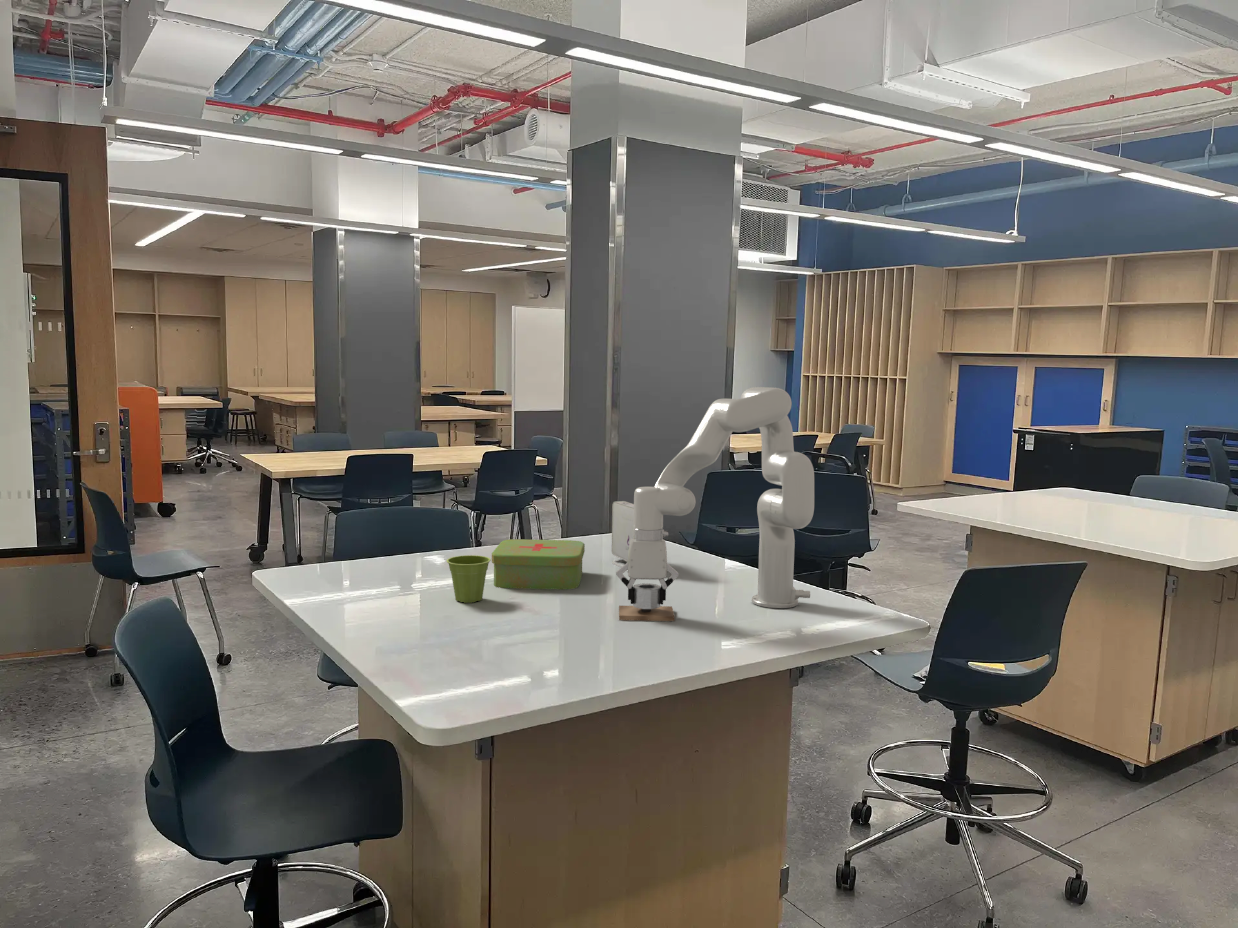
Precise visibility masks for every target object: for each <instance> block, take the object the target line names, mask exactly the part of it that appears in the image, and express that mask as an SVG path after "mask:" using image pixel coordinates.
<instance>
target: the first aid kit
mask: <svg viewBox="0 0 1238 928" xmlns="http://www.w3.org/2000/svg"><path fill="white" fill-rule="evenodd" d="M585 545H586V544H585V543H584V542H583V541H580V540H569V539H565V540H564V539H526V538H525V539H519V538H517V539H515V538H514V539H511V538H510V539H504V540H502V541H500V542H499V544H498V545H497V546H496V548H495V549H494V550H493V551H492V552H491V563H492V564H493V586H494V587H496V588H499V587H500V588H501V589H527V590H528V589H531V590H532V589H533V590H535V589H537V590H574V589H578V587H579V586H580V583H581V579H582V576H583V558H584V555H585V551H586V550H585V549H586V548H585Z"/></svg>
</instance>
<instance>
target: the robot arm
mask: <svg viewBox="0 0 1238 928" xmlns="http://www.w3.org/2000/svg"><path fill="white" fill-rule="evenodd" d="M791 409H792V398H791V396H790V394H789V392H787V391H786V390H784V389H782V388H779V387H769V386H768V387H766V386H765V387H764V386H754V387H749V388H747V389H745V390H744V391H743V392H742V393H741V395H740V398H718V399H716V400H714V401H713V402H712V403H711V404H710V405H709V407H708V409H707V410H706V412H705V414H704V416H703V417H702V418H701V422H700V423H699V424H698V426H697V428H696V430H695V432H694V433H693V435H692V437H691V438H690V440H689V442H688V443H687V445H686V446H685V447H684V448H683V449H681V450H680V451H679V453H677V454H676V455H675V456H674V457H673V458H672V459H671V461H670V462H669V463H668V464H667V465H666V466H665V468H664V469H663V470H662V472H661V474H660V476H659V478H658V479H657V481H656V482H655V485H654V486H639V487H636V489H635V490H634V493H633V494H634V495H633V504H634V531H633V539H631V540H630V544H629V551H628V563H627V562H626V563H627V564H626V563H625V564H623V565H624V566H623V567H622V568H621V567H619V568H618V570H616V572H615V574H616V577H618V579H619V580H620V581H621V582H622V583H623V584H624V585H625V586H626V588H627V601H630V605H633V604H634V589H633V586H634V585H635V582H636V580H658V581H659V583H660V586H661V592H660V606H661V605H662V606H663V605H664V602H665V601H666V600H667V590H668V587H670V586H671V584H673V582H674V581H675V580H676V579H677V578H678V577H679V576H680V575H679V572H678V571H677V570H676V569H675V568H673V567H672V566H671V565H670V564H669V563H668V553H667V544H666V540H665V539H663V538H665V537H669V531H668V530H665V529H663V528H664V516H677V517H683V516H686V515H688V514H690V513H691V512H692V511H693V510H694V508H695V507H696V497H695V495H694V493H693V491H691V489H689V488H688V487H687V488H686V487H685V484H687V482H688V481H689V480H690V479H691V477H692V476H693V475H695V474H696V473H697V472H699V471H701V470H702V469H704V468H706V467H709V466H711V465H713V464H714V463H715V462H716V461H717V459H718V458H719V457H720V454H721V452H722V450H724V447H725V446H726V444H727V443H728V440H729V438H730V437H731V436H732V433H733V432H734V433H743V432H749V431H752V430H755V429H759V432H760V439H761V472H762V477H763V479H764V480H765V481H767V482H768V483H770V484H774V485H777V486H781V488H770V489H767V490H765V491H764V492H763V493H762V494H761V495H760V496H759V498H758V501H757V504H756V505H757V507H756V513H757V518H758V519H757V521H758V527H759V530H758V531H759V543H758V546H759V547H758V570H757V573H758V574H757V594H755V595H753V596H752V597H751V603H753V604H754V605H755V606H759V607H763V608H770V609H790V608H794V607H797V606H798V605H799V598H803V599H810V598H811V591H810V590H804V589H796V588H795V587H794V573H795V572H794V570H795V569H794V568H795V567H794V566H795V565H794V564H795V548H796V547H795V544H796V543H795V542H796V540H795V532H794V530H799V529H804V528H806V527H807V526H808V525H809V524H811V521H812V520H813V516H814V512H815V470H814V466H813V463H812V461H811V459H810V458H809V457H808V456H807V455H805V454H804V453H801V452H800V451H799V452H798V451H795V449H794V433H793V432H794V431H793V426H792V425H793V424H792V423H791V420H790V418H789V414H790V412H791ZM627 570H628V571H627ZM625 572H627V576H628V578H629V579H628V578H627V577H626V576H625V574H624V573H625ZM668 572H669V573H670V574H671V575H670V576H669V577H668V576H667V575H668ZM667 577H668V578H667ZM666 578H667V579H666Z"/></svg>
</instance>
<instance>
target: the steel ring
mask: <svg viewBox="0 0 1238 928" xmlns="http://www.w3.org/2000/svg"><path fill="white" fill-rule="evenodd" d="M633 589H634V604H632V606H634V607H636V608H640V609H655V608H659V607H660V606H661V604H660V592H661V585H659V584H656V583H648V582H647V583H645V582H644V583H637V584H633Z"/></svg>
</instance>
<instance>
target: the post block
mask: <svg viewBox="0 0 1238 928" xmlns="http://www.w3.org/2000/svg"><path fill="white" fill-rule="evenodd" d="M675 617H676V616H675V613H674V608H673V606H671V605H670V606H667V605H666V606H665V605H664V606H663V605H662V606H661V605H660V607H659V608H655V609H640V608H636V607H634V606H633V605H619V606H618V621H644V622H645V621H646V622H647V621H648V622H649V621H650V622H657V621H658V622H675Z"/></svg>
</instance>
